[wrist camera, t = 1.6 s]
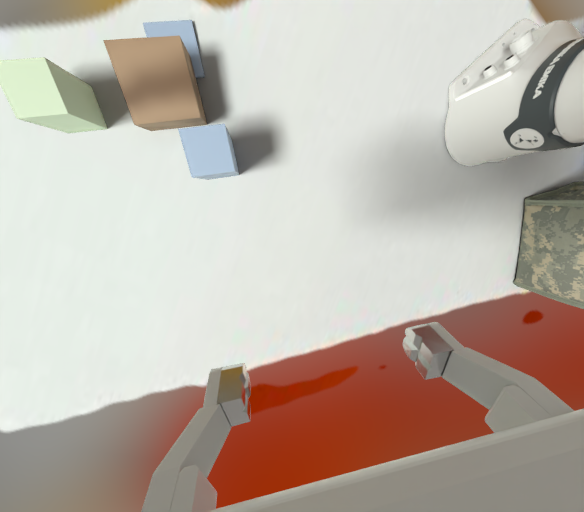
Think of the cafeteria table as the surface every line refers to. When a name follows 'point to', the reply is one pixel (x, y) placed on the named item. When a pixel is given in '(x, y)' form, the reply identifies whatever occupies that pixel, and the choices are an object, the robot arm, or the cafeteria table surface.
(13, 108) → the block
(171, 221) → the cafeteria table surface
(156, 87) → the walnut block
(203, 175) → the pillar
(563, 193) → the bag
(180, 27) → the swatch
